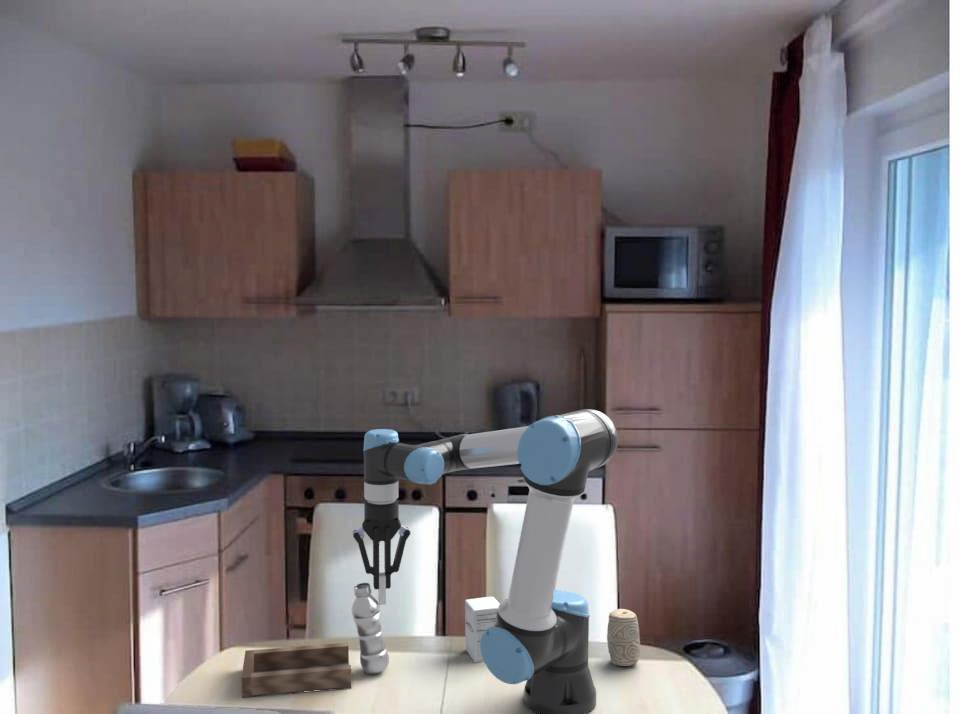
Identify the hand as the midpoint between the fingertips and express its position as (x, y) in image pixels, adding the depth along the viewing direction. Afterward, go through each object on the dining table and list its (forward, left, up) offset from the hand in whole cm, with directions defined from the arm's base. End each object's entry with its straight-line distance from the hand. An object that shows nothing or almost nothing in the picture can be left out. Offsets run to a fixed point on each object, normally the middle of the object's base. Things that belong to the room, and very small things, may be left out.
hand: (382, 602), depth 210 cm
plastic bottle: (+1, +1, -16) cm, 16 cm away
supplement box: (-14, -20, -16) cm, 29 cm away
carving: (-43, -34, -16) cm, 57 cm away
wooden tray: (+13, +14, -16) cm, 25 cm away
